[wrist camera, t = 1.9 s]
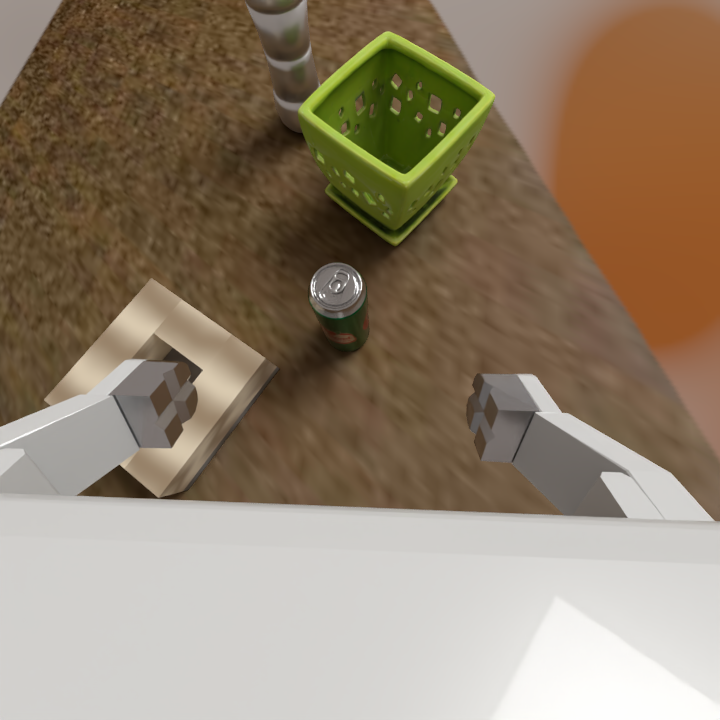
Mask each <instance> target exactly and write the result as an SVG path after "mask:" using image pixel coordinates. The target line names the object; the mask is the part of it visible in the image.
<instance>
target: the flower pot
mask: <svg viewBox="0 0 720 720" xmlns="http://www.w3.org/2000/svg"><path fill="white" fill-rule="evenodd" d="M395 74H397V75H398V76H399V77H400V78H401V80H402V83H401V85H400V86H399V87H397V86H396V85H395V84H394V82H393V81H392V78H393V76H394V75H395ZM373 81H374V85H373V86H372V83H373ZM419 82H422V88H420V87H419ZM380 88H381V91H380ZM409 90H412V92H413V98H412V99H409ZM431 94H433V95H435V96H437V97H438V98H440V99H441V100H442V104H441V110H440V112H438V111H436V110H434V109H432V108H430V99H431ZM361 95H362V100H363V107H362V108H361V109H360V110H359V111H358V112H357V111H356V106H355V102H356V100H357V99H358V98H359V97H360V96H361ZM393 97H395V98H397V99H398V100H399V101H400V102H401V110H400V113H398V112H397V111H395V110H394V109H393V108H392V102H393ZM494 99H495V95H494V94H493V93H492V92H491V91H490V90H488V89H487V88H485V87H484V86H483V85H481V84H480V83H478V82H477V81H475V80H474V79H472V78H470V77H469V76H467V75H466V74H464V73H462V72H461V71H459V70H458V69H456V68H454V67H453V66H451V65H449V64H448V63H446V62H444V61H443V60H441V59H439V58H438V57H436V56H434V55H432V54H431V53H429V52H427V51H425V50H424V49H422V48H420V47H419V46H417V45H415V44H413V43H411V42H409V41H408V40H406V39H404V38H402V37H400V36H398V35H396V34H394V33H391V32H385V33H383V34H382V35H380V36H379V37H377V38H376V39H375V40H373V41H372V42H371V43H369V44H368V45H367V46H366V47H364V48H363V49H362V50H361V51H360V52H358V53H357V54H356V55H355V56H354V57H352V58H351V59H350V60H349V61H348V62H347V63H345V64H344V65H343V66H342V67H341V68H339V69H338V70H337V71H336V72H335V73H334V74H333V75H332V76H331V77H330V78H328V79H327V80H326V81H325V82H324V83H323V84H322V85H321V86H320V87H319V88H318V89H317V90H316V91H315V92H314V93H313V94H312V95H311V96H310V97H309V98H308V99H307V100H306V101H305V102H304V103H303V104H302V105H301V106H300V108H299V109H298V119H299V123H300V126H301V129H302V132H303V135H304V137H305V140H306V143H307V145H308V147H309V149H310V151H311V154H312V156H313V158H314V160H315V161H316V163H317V165H318V166H319V168H320V170H321V171H322V172H323V174H324V175H325V176H326V178H327V179H328V180H329V181H330V182H331V183H330V184H329V185H328V186H327V187H326V189H325V193H326V194H327V195H328V196H329V197H330V198H331V199H332V200H334V201H335V202H336V203H337V204H339V205H340V206H341V207H342V208H344V209H345V210H346V211H347V212H349V213H350V214H351V215H352V216H354V217H355V218H356V219H357V220H359V221H360V222H361V223H363V224H364V225H365V226H367V227H368V228H369V229H371V230H372V231H373V232H375V233H376V234H377V235H379V236H380V237H381V238H383V239H384V240H385V241H387V242H388V243H390V244H391V245H393V246H397V245H398V244H399V243H400V242H401V241H403V240H404V239H405V238H406V237H407V236H408V235H409V234H410V233H411V232H412V231H413V229H414V228H415V227H416V226H417V225H418V224H419V223H420V222H421V221H422V220H423V219H424V218H425V217H426V216H427V215H428V214H429V213H430V212H431V211H432V210H433V209H434V208H435V207H436V206H437V205H438V204H439V203H440V202H441V201H442V200H443V199H444V197H445V196H446V195H447V194H448V193H449V192H450V191H451V190H452V189H453V188H454V186H455V185H456V184H457V179H456V178H455V177H453V176H452V175H451V174H452V173H453V171H454V170H455V169H456V167H457V166H458V165H459V164H460V162H461V161H462V160H463V158H464V157H465V155H466V154H467V152H468V151H469V149H470V148H471V146H472V145H473V143H474V141H475V140H476V138H477V136H478V134H479V132H480V130H481V128H482V126H483V124H484V122H485V120H486V118H487V116H488V114H489V111H490V109H491V107H492V104H493V102H494ZM373 103H374V109H373V114H372V115H369V112H370V106H371V105H372V104H373ZM457 108H458V109H460V111H461V114H460V117H458V116H457V115H456V114H455V112H456V109H457ZM340 109H341V113H340V115H339V111H340ZM417 112H420V113H421V114H422V115H423V118H422V120H420V119H419V118H418V117H417V116H416V115H417ZM345 122H346V123H347V130H346V132H345V133H343V134H341V127H342V125H343V124H344V123H345ZM441 122H442V123H444V124H446V130H445V134H443V133H441V132H440V131H439V130H440V126H441ZM356 125H357V129H356V131H355V126H356ZM428 129H431V131H432V132H431V136H429V135H428V134H427V132H428Z"/></svg>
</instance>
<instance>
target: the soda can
mask: <svg viewBox="0 0 720 720" xmlns="http://www.w3.org/2000/svg"><path fill="white" fill-rule="evenodd" d="M308 298H309V302H310V304H311V306H312V309H313V311H314V313H315V315H316V317H317V319H318V321H319V323H320V325H321V327H322V329H323V332H324V334H325V336H326V338H327V340H328V342H329V343H330V344H331V345H332V346H333V347H334V348H336V349H337V350H340V351H345V352H349V351H354V350H356V349H358V348H360V347H361V346H362V345H363V344H364V343H365V342H366V340H367V338H368V335H369V317H368V298H367V286H366V282H365V280H364V278H363V277H362V275H361V274H360V273H359V272H358V271H356V270H355V269H354V268H353V267H351V266H350V265H347V264H345V263H339V262H335V263H329V264H326V265H324V266H322V267H321V268H320V269H318V270H317V271H316V273H315V274H314V275H313V277H312V280H311V282H310V285H309V288H308Z"/></svg>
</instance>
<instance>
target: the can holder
mask: <svg viewBox="0 0 720 720" xmlns="http://www.w3.org/2000/svg"><path fill="white" fill-rule="evenodd" d="M129 359H146V360H164V361H181V362H184V363H186V364H188V366H189V369H190V372H191V376H190V378H189V379H188V381H190V382H191V383H192V384H193V385H194V386H195V387H196V390H197V394H198V403H197V407H196V411H195V413H194V414H193V416H192V418H191V419H189V420H188V421H186V422H184V423H183V424H182V426H183V432H182V433H181V435H180V436H179V438H178V439H177V441H176V443H175V444H174V446H173V447H172V448H140V450H139V451H137V452H136V453H134V454H133V455H132V456H130V457H129V458H128V459H126V460H125V461H123V462H122V463H121V464H119V465H121V466H122V467H123V468H124V469H125V470H126V471H128V472H129V473H130V474H131V475H132V476H133V477H135V478H136V479H137V480H138V481H139V482H140V483H142V484H143V485H144V486H145V487H146V488H147V489H149V490H150V491H151V492H152V493H153V494H154V495H156V496H157V497H158V498H160V497H164V496H167V495H171V494H175V493H178V492H182V491H186V490H189V488H190V487H191V486H192V484H193V483H194V482H195V480H196V479H197V478H198V476H199V475H200V474H201V472H202V471H203V470H204V468H205V467H206V466H207V464H208V463H209V462H210V460H211V459H212V458H213V456H214V455H215V454H216V452H217V451H218V450H219V449H220V447H221V446H222V445H223V443H224V442H225V441H226V439H227V438H228V437H229V435H230V434H231V433H232V431H233V430H234V429H235V427H236V426H237V425H238V423H239V422H240V421H241V419H242V418H243V417H244V415H245V414H246V413H247V411H248V410H249V409H250V407H251V406H252V405H253V403H254V402H255V401H256V399H257V398H258V397H259V395H260V394H261V393H262V391H263V390H264V389H265V387H266V386H267V385H268V383H269V382H270V381H271V379H272V378H273V377H274V375H275V374H276V373H277V371H278V370H279V368H278V367H277V366H275V365H274V364H273V363H271V362H270V361H268V360H267V359H266V358H264V357H263V356H262V355H260V354H259V353H257V352H256V351H254V350H253V349H252V348H250V347H249V346H247V345H246V344H244V343H243V342H242V341H240V340H239V339H237V338H236V337H234V336H233V335H232V334H230V333H229V332H227V331H226V330H225V329H223V328H222V327H220V326H219V325H217V324H216V323H215V322H213V321H212V320H210V319H209V318H207V317H206V316H205V315H203V314H202V313H200V312H199V311H197V310H196V309H195V308H193V307H192V306H190V305H189V304H188V303H186V302H185V301H183V300H182V299H180V298H179V297H178V296H176V295H175V294H173V293H172V292H170V291H169V290H168V289H166V288H165V287H163V286H162V285H160V284H159V283H158V282H156V281H155V280H153V279H152V278H151V280H150V281H149V282H148V283H147V284H146V285H145V286H144V288H143V289H142V290H141V291H140V292H139V293H138V294H137V295H136V297H135V298H134V299H133V300H132V301H131V302H130V303H129V304H128V306H127V307H126V308H125V309H124V310H123V311H122V312H121V314H120V315H119V316H118V317H117V318H116V319H115V320H114V321H113V323H112V324H111V325H110V326H109V327H108V328H107V329H106V330H105V332H104V333H103V334H102V335H101V336H100V337H99V338H98V340H97V341H96V342H95V343H94V344H93V345H92V346H91V347H90V349H89V350H88V351H87V352H86V353H85V354H84V355H83V356H82V358H81V359H80V360H79V361H78V362H77V363H76V364H75V366H74V367H73V368H72V369H71V370H70V371H69V372H68V373H67V375H66V376H65V377H64V378H63V379H62V380H61V381H60V382H59V384H58V385H57V386H56V387H55V388H54V389H53V390H52V392H51V393H50V394H49V395H48V396H47V397H46V398H45V399H44V400H45V401H46V402H47V403H48V404H49V405H51V406H53V405H55V404H58V403H60V402H63V401H65V400H68V399H70V398H72V397H75V396H77V395H80V394H83V395H86V394H87V393H88V392H90V391H91V390H92V389H93V388H94V387H95V386H96V385H97V384H99V383H100V382H101V381H102V380H103V379H104V378H105V377H107V376H108V375H109V374H110V373H111V372H112V371H113V370H114V369H116V368H117V367H118V366H119V365H120V364H121V363H122V362H124V361H125V360H129Z"/></svg>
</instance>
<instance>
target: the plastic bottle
mask: <svg viewBox="0 0 720 720" xmlns="http://www.w3.org/2000/svg"><path fill="white" fill-rule="evenodd" d="M245 2H246V5H247V7H248V10H249V12H250V15H251V17H252V20H253V22H254V24H255V27H256V29H257V32H258V34H259V37H260V40H261V43H262V46H263V49H264V52H265V55H266V58H267V61H268V66H269V71H270V75H271V80H272V84H273V93H274V100H275V106H276V110H277V112H278V114H279V116H280V118H281V120H282V122H283V123H284V124H285V126H287V127H288V128H289V129H291V130H292V131H294V132H298V133H303V132H302V129H301V126H300V123H299V119H298V109H299V108H300V106H301V105H302V104H303V103H304V102H305V101H306V100H307V99H308V98H309V97H310V96H311V95H312V94H313V93H314V92H315V91H316V90H317V89H318V88H319V87H320V86H321V85H320V83H319V80H318V77H317V73H316V69H315V64H314V60H313V56H312V51H311V43H310V36H309V28H308V18H307V0H245Z"/></svg>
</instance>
